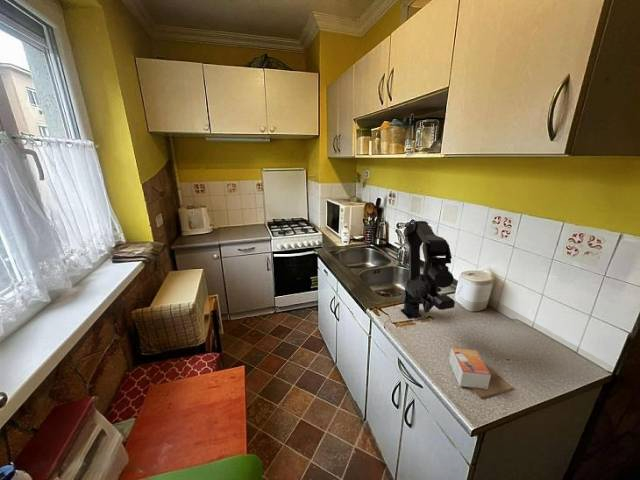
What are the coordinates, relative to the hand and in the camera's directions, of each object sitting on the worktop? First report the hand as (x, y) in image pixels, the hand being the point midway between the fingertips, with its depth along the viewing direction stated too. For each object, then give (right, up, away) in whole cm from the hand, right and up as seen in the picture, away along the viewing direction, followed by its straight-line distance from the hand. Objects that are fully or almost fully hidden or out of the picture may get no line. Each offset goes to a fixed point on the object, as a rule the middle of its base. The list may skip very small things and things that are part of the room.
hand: (426, 312), depth 94 cm
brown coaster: (+12, -17, -14) cm, 25 cm away
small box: (+9, -12, -9) cm, 17 cm away
